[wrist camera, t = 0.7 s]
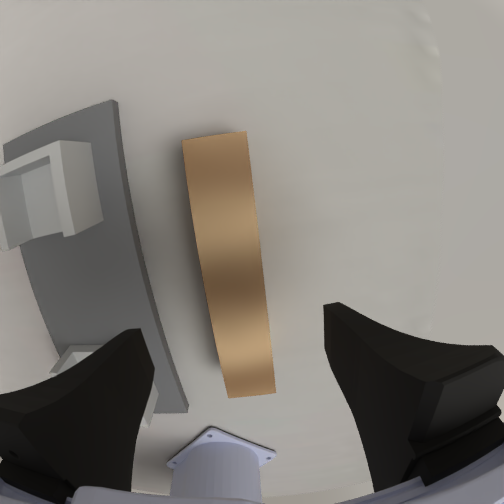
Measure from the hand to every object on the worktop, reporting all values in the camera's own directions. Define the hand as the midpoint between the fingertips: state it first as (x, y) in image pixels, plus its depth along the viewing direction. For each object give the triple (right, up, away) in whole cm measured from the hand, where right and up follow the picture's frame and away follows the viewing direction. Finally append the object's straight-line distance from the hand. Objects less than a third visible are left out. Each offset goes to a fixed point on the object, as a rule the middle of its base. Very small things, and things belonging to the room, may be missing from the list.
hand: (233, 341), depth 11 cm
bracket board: (-11, +1, +8) cm, 14 cm away
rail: (0, +3, +9) cm, 9 cm away
